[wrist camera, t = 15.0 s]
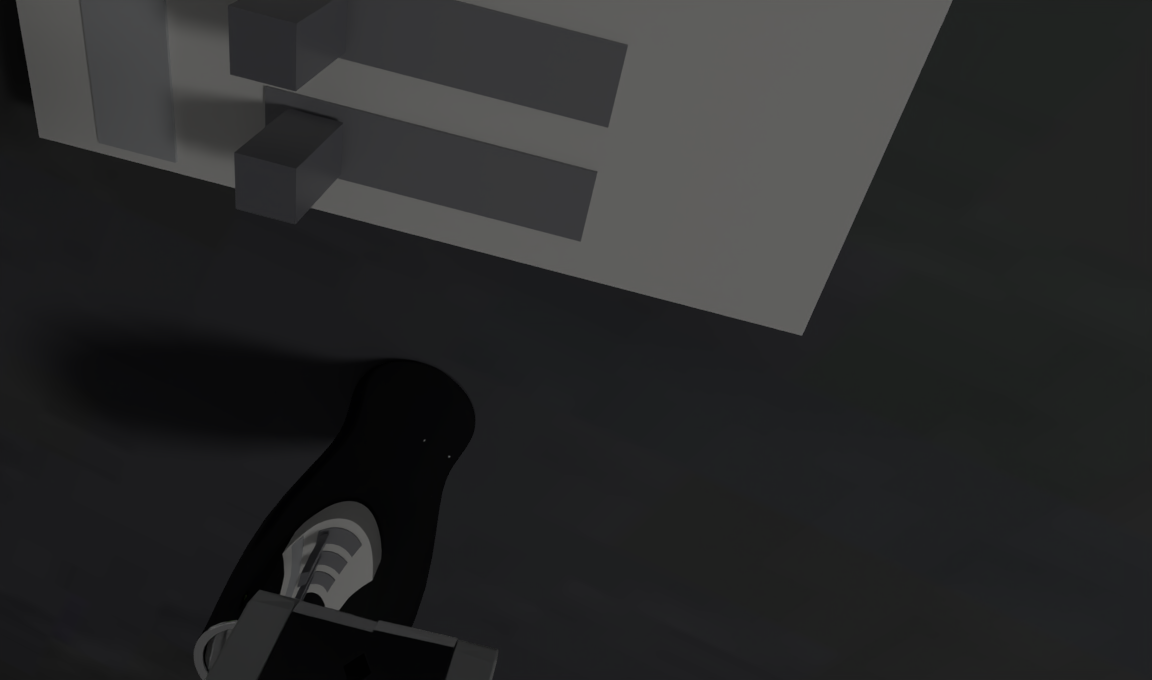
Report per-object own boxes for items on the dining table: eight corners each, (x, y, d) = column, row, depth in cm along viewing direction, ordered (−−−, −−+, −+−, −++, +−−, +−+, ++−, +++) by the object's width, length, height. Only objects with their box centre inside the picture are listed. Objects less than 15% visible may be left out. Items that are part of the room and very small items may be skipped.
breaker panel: (87, 109, 35) (-48, 186, 29) (25, -349, 27) (-186, -377, 21) (797, 294, 35) (810, 410, 29) (969, -106, 26) (1039, -61, 20)
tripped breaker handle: (287, 36, 29) (230, 74, 25) (287, -26, 28) (227, 5, 24) (345, 51, 29) (295, 91, 25) (348, -10, 27) (296, 23, 24)
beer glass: (435, 484, 45) (322, 763, 32) (321, 409, 43) (156, 673, 31) (513, 411, 41) (419, 693, 29) (392, 325, 39) (238, 587, 27)
